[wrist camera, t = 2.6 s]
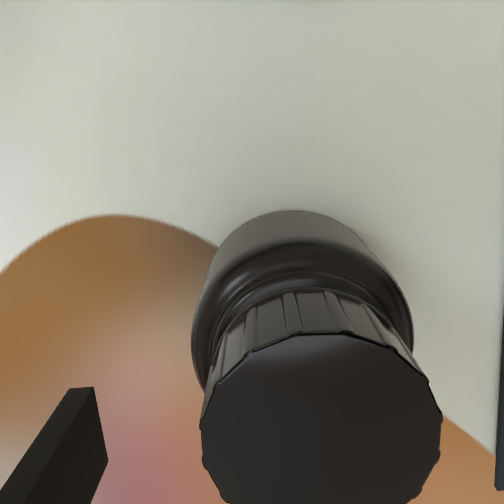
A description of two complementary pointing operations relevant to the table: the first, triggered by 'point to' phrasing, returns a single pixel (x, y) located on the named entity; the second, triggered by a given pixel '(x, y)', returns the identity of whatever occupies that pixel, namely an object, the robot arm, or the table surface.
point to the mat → (500, 430)
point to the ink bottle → (309, 370)
